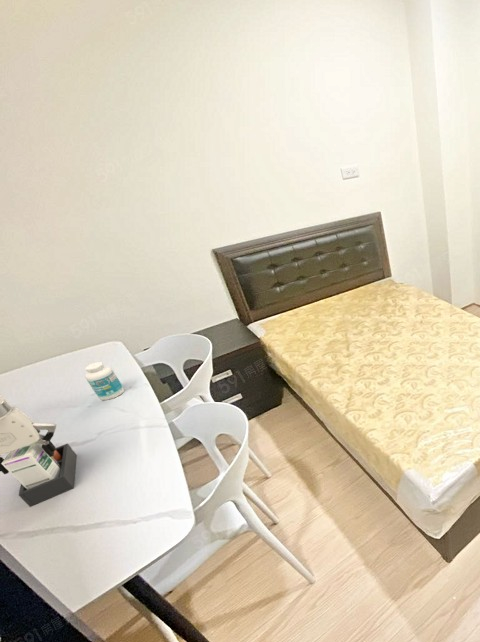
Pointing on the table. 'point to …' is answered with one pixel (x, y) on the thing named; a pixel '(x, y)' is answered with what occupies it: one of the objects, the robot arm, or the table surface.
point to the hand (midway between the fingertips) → (30, 461)
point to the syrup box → (32, 465)
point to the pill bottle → (103, 381)
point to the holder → (53, 480)
